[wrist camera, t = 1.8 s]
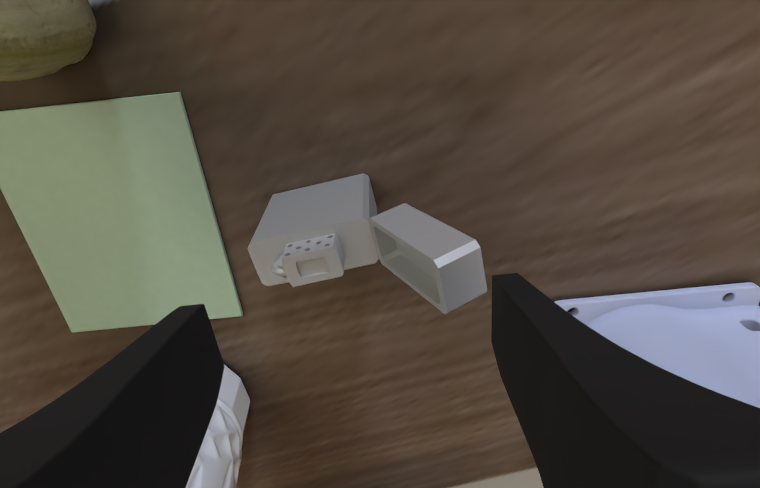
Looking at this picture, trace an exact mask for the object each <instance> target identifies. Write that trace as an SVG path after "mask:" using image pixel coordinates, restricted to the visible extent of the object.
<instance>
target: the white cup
mask: <svg viewBox="0 0 760 488" xmlns="http://www.w3.org/2000/svg"><path fill="white" fill-rule="evenodd" d="M224 366H225V367H224V372H223V377H222V382H221V387H220V391H219V395H218V399H217V403H216V406H215V409H214V412H213V415H212V418H211V420H210V423H209V426H208V429H207V431H206V434H205V437H204V439H203V442H202V445H201V447H200V450H199V453H198V455H197V458H196V461H195V464H194V466H193V469H192V472H191V474H190V477H189V480H188V482H187V485H186V488H236V485H237V479H238V472H239V467H240V463H241V459H242V450H241V447H242V441H243V436H244V431H245V427H246V422H247V417H248V411H249V406H250V398H249V396H248V394H247V392H246V389H245V387H244V385H243V383H242V380H241V378H240V377H239V376H238V375H236V374H235V373H234V372H233V371H232V370H230V369H229V368H228V367H227V366H226V365H224Z"/></svg>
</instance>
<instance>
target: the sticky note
mask: <svg viewBox="0 0 760 488" xmlns="http://www.w3.org/2000/svg"><path fill="white" fill-rule="evenodd" d="M0 189H1V191H2V193H3V195H4V197H5V199H6V201H7V203H8V205H9V207H10V209H11V211H12V213H13V215H14V217H15V219H16V221H17V223H18V225H19V227H20V229H21V231H22V233H23V235H24V237H25V239H26V241H27V243H28V245H29V247H30V249H31V251H32V253H33V255H34V257H35V259H36V261H37V263H38V265H39V267H40V269H41V271H42V273H43V275H44V277H45V279H46V281H47V283H48V285H49V287H50V289H51V291H52V293H53V295H54V297H55V299H56V301H57V303H58V305H59V308H60V310H61V312H62V314H63V316H64V318H65V320H66V322H67V324H68V326H69V328H70V330H71V332H82V331H92V330H103V329H113V328H124V327H134V326H144V325H155V324H157V323H158V322H159V321H160V320H162V319H163V318H164V317H166V316H167V315H168V314H169V313H171V312H172V311H174V310H175V309H177V308H178V307H180V306H186V305H196V304H204V305H205V308H206V311H207V314H208V317H209V319H217V318H228V317H238V316H243V311H242V308H241V304H240V301H239V297H238V293H237V290H236V286H235V283H234V279H233V276H232V272H231V269H230V265H229V262H228V258H227V255H226V251H225V248H224V244H223V241H222V237H221V233H220V230H219V226H218V223H217V219H216V216H215V212H214V209H213V205H212V202H211V198H210V195H209V191H208V188H207V184H206V181H205V177H204V174H203V170H202V166H201V163H200V159H199V156H198V152H197V149H196V145H195V142H194V138H193V135H192V131H191V128H190V124H189V121H188V117H187V114H186V110H185V106H184V103H183V99H182V96H181V92H172V93H163V94H154V95H145V96H136V97H126V98H117V99H108V100H99V101H90V102H80V103H71V104H62V105H53V106H44V107H34V108H25V109H16V110H7V111H0Z"/></svg>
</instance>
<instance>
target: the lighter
mask: <svg viewBox="0 0 760 488" xmlns="http://www.w3.org/2000/svg"><path fill="white" fill-rule="evenodd" d="M247 249H248V251H249V254H250V256H251V259H252V261H253V263H254V266H255V268H256V271H257V273H258V275H259V278H260V280H261V283H262V284H264V285H266V286H272V285H277V284H282V283H286V282H289V283H290V284H291V285H292V287H295V286H299V285H304V284H309V283H313V282H318V281H322V280H327V279H332V278H336V277H341V276H343V273H344V270H346V269H351V268H355V267H360V266H365V265H369V264H374V263H376V261H377V260H378V258H379V260H380V262H381V263H382V265H384V266H385V267H386V268H387V269H389V270H390V271H391V272H392V273H394V274H395V275H396V276H397V277H399V278H400V279H401V280H402V281H404V282H405V283H406V284H407V285H409V286H410V287H411V288H412V289H414V290H415V291H416V292H417V293H419V294H420V295H421V296H422V297H424V298H425V299H426V300H427V301H429V302H430V303H431V304H433V305H434V306H435V307H436V308H438V309H439V310H440V311H441V312H443V313H444V314H447V313H449V312H451V311H453V310H454V309H456V308H458V307H460V306H462V305H464V304H466V303H468V302H469V301H471V300H473V299H475V298H477V297H479V296H481V295H483V294H484V293H486V292H487V286H486V279H485V273H484V267H483V260H482V254H481V248H480V246H479V244H478V243H477V241H476V240H475V239H473V238H471V237H469V236H467V235H466V234H464V233H462V232H460V231H458V230H456V229H454V228H452V227H450V226H448V225H446V224H444V223H442V222H440V221H439V220H437V219H435V218H433V217H431V216H429V215H427V214H425V213H423V212H421V211H419V210H417V209H415V208H413V207H411V206H410V205H408V204H406V203H403V204H401V205H399V206H397V207H394V208H392V209H390V210H387V211H385V212H383V213H380V214H378V215H377V206H376V202H375V199H374V195H373V191H372V187H371V183H370V179H369V176H367V175H366V174H364V173H362V174H358V175H354V176H350V177H345V178H341V179H337V180H333V181H328V182H324V183H320V184H315V185H311V186H307V187H303V188H298V189H294V190H290V191H286V192H281V193H277V194H273V195H272V197H271V199H270V201H269V203H268V205H267V208H266V210H265V212H264V214H263V216H262V218H261V220H260V223H259V225H258V227H257V229H256V231H255V233H254V236H253V238H252V240H251V242H250V244H249V246H248V248H247Z"/></svg>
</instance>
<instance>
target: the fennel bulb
mask: <svg viewBox="0 0 760 488" xmlns="http://www.w3.org/2000/svg"><path fill="white" fill-rule="evenodd" d="M95 32H96V21H95V18H94V14H93V11H92V9H91V6H90V4H89V2H88V0H0V81H18V80H27V79H32V78H36V77H43V76H46V75H50V74H54V73H56V72H58V71H59V70H61V69H62V68H63V67H64V66H67V65H69V64H74V63H77V62H79V61H80V60H82V59H83V58H84V57H85V56H86V55H87V54H88V52H89V51H90V49H91V47H92V41H93V37H94V35H95Z"/></svg>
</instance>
